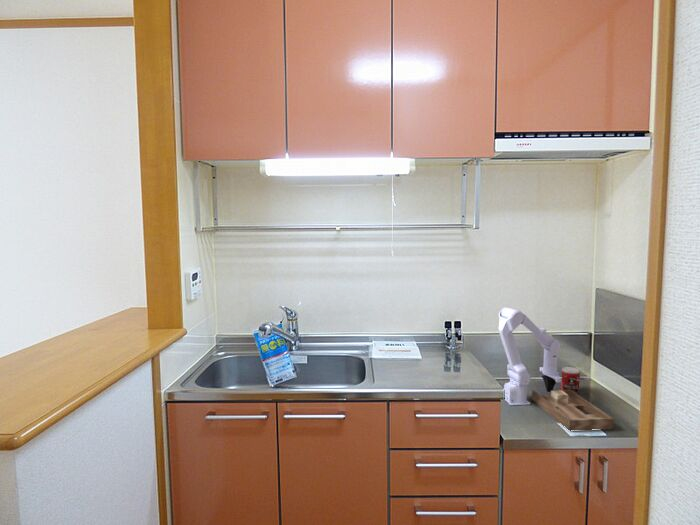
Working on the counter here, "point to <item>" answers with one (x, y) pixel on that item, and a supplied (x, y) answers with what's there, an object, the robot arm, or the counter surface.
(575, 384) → the canned food
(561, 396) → the block
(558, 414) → the trough
